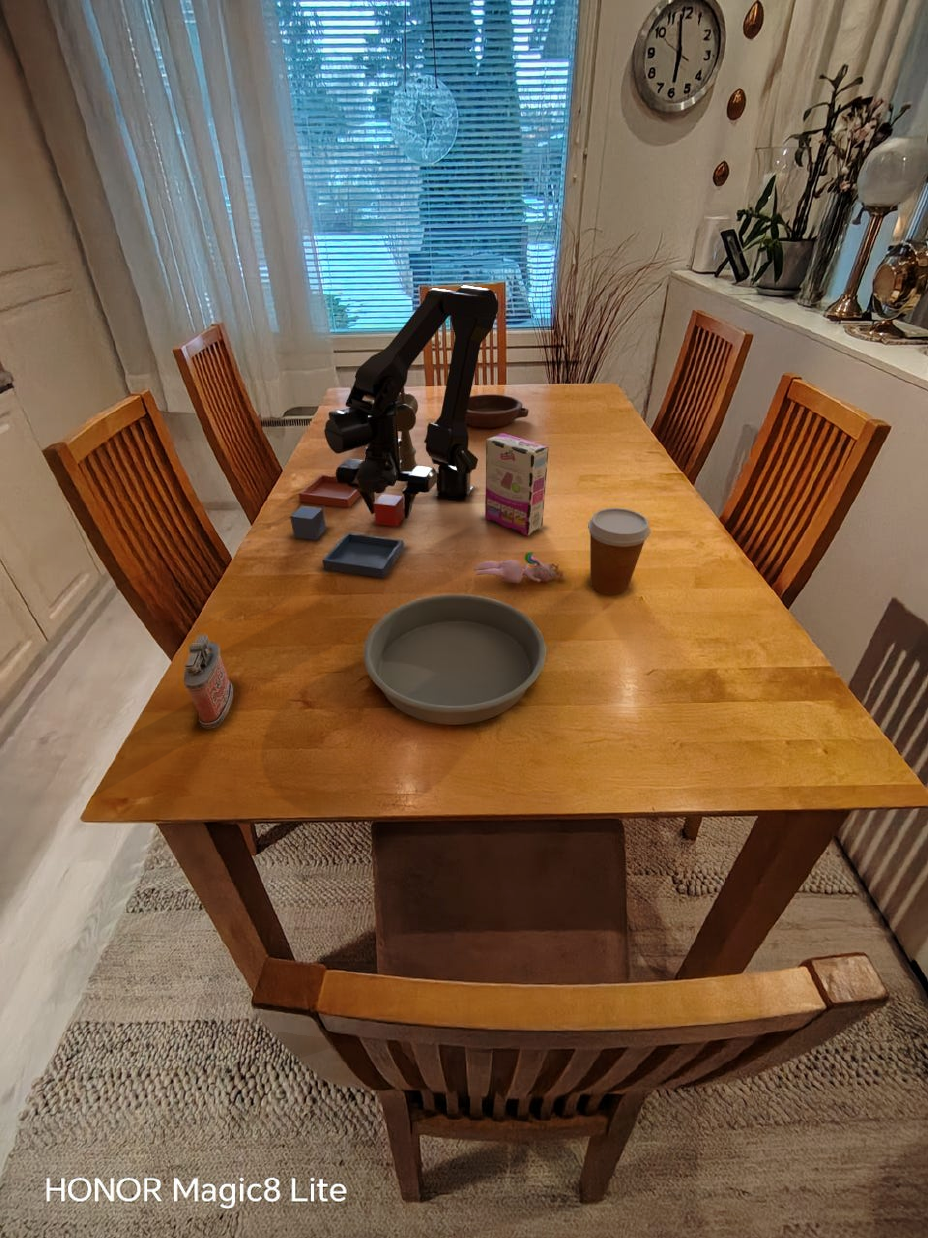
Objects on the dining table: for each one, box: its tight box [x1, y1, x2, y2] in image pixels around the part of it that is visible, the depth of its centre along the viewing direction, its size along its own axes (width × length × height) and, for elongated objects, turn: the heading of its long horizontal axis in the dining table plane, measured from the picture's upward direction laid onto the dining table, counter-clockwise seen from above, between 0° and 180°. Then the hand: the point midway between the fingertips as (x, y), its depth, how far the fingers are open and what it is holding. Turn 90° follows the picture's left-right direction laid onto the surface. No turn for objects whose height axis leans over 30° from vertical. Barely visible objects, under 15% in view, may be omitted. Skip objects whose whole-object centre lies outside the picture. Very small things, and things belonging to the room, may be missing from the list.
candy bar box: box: [484, 432, 550, 537], centre depth 111 cm, size 11×5×16 cm, turn 47°
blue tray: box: [322, 532, 405, 579], centre depth 105 cm, size 11×10×2 cm
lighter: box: [183, 634, 234, 730], centre depth 74 cm, size 8×3×10 cm, turn 5°
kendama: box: [397, 386, 419, 472], centre depth 131 cm, size 6×10×20 cm, turn 179°
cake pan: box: [362, 593, 547, 726], centre depth 81 cm, size 25×25×4 cm
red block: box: [374, 493, 405, 528], centre depth 116 cm, size 4×4×4 cm
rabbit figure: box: [473, 551, 564, 585], centre depth 98 cm, size 6×6×15 cm
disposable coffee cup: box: [587, 507, 651, 596], centre depth 95 cm, size 10×10×12 cm
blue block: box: [289, 505, 327, 541], centre depth 112 cm, size 4×4×4 cm
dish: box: [465, 393, 530, 429], centre depth 162 cm, size 18×22×5 cm
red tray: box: [298, 474, 362, 509], centre depth 127 cm, size 11×10×2 cm
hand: (390, 515), depth 117 cm, fingers open, 7 cm apart
